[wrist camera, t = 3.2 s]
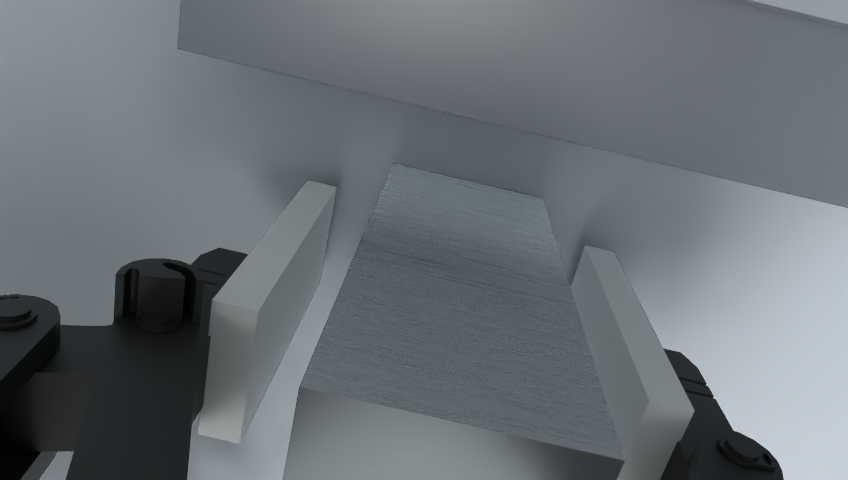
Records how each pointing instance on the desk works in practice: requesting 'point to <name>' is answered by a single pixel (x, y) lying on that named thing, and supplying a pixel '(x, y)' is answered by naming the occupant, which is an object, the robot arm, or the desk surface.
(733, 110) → the housing base
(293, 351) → the desk surface
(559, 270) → the steel block
